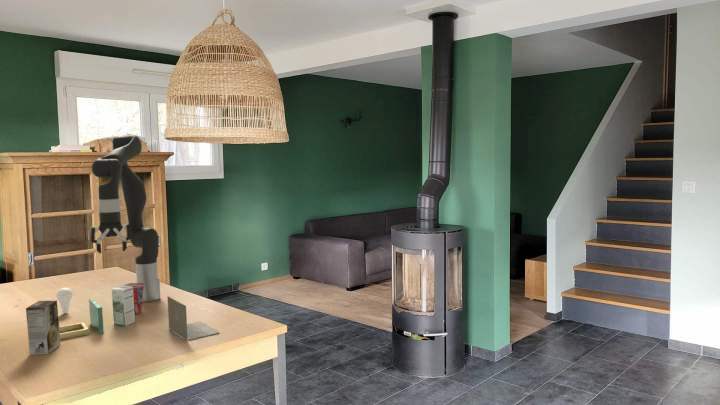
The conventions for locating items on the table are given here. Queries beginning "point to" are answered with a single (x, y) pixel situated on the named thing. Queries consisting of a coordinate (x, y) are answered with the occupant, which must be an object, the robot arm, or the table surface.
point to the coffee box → (43, 327)
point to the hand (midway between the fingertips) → (112, 252)
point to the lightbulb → (64, 298)
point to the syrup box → (123, 305)
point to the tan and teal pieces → (95, 320)
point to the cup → (137, 296)
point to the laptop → (180, 323)
